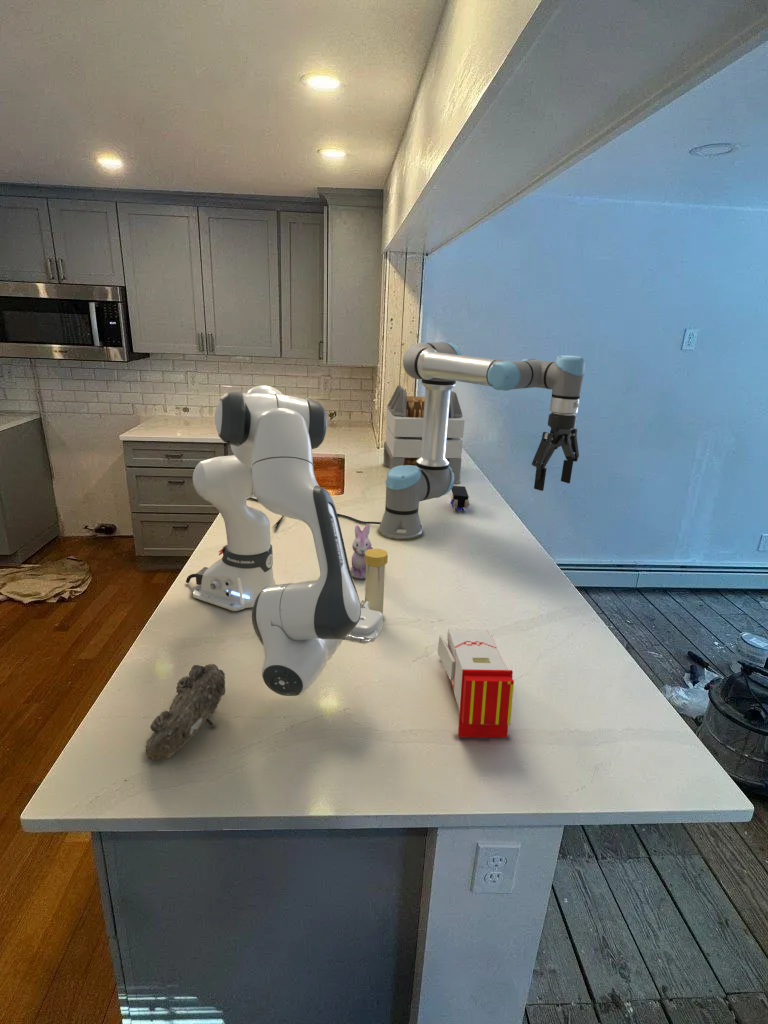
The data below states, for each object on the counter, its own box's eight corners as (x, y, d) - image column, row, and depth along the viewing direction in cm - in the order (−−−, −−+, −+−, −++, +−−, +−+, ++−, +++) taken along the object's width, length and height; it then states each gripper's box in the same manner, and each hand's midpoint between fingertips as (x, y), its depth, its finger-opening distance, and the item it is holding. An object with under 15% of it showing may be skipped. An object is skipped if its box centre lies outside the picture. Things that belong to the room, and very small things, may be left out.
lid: (389, 558, 142) (389, 549, 141) (384, 568, 136) (385, 559, 136) (367, 555, 143) (367, 547, 142) (361, 565, 137) (362, 556, 137)
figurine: (357, 582, 163) (358, 534, 158) (342, 568, 171) (343, 521, 166) (386, 576, 167) (388, 529, 162) (370, 563, 176) (372, 517, 171)
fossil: (174, 665, 116) (226, 633, 111) (207, 696, 118) (259, 665, 113) (119, 753, 96) (179, 718, 91) (161, 787, 99) (221, 755, 94)
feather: (291, 508, 223) (294, 504, 222) (274, 533, 196) (277, 528, 195) (287, 506, 222) (290, 502, 222) (270, 530, 196) (272, 526, 195)
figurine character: (469, 517, 223) (463, 501, 236) (471, 500, 219) (465, 484, 233) (452, 516, 222) (447, 500, 236) (454, 499, 219) (449, 483, 232)
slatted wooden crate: (382, 463, 289) (386, 382, 275) (445, 464, 293) (451, 384, 279) (390, 482, 257) (394, 392, 243) (460, 483, 261) (468, 394, 247)
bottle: (384, 615, 147) (387, 552, 141) (380, 624, 142) (383, 559, 136) (366, 612, 148) (369, 549, 141) (362, 621, 143) (364, 557, 137)
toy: (488, 613, 130) (523, 677, 101) (484, 667, 133) (517, 744, 104) (435, 612, 130) (455, 676, 101) (432, 666, 133) (451, 743, 103)
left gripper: (372, 628, 103) (392, 595, 115) (270, 609, 108) (300, 578, 120) (371, 658, 105) (391, 622, 117) (270, 637, 110) (300, 605, 122)
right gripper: (548, 419, 148) (537, 496, 155) (598, 411, 163) (586, 482, 171) (525, 414, 153) (515, 489, 160) (575, 407, 169) (564, 476, 176)
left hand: (344, 600), depth 119 cm, fingers open, 8 cm apart
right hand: (552, 485), depth 166 cm, fingers open, 13 cm apart
